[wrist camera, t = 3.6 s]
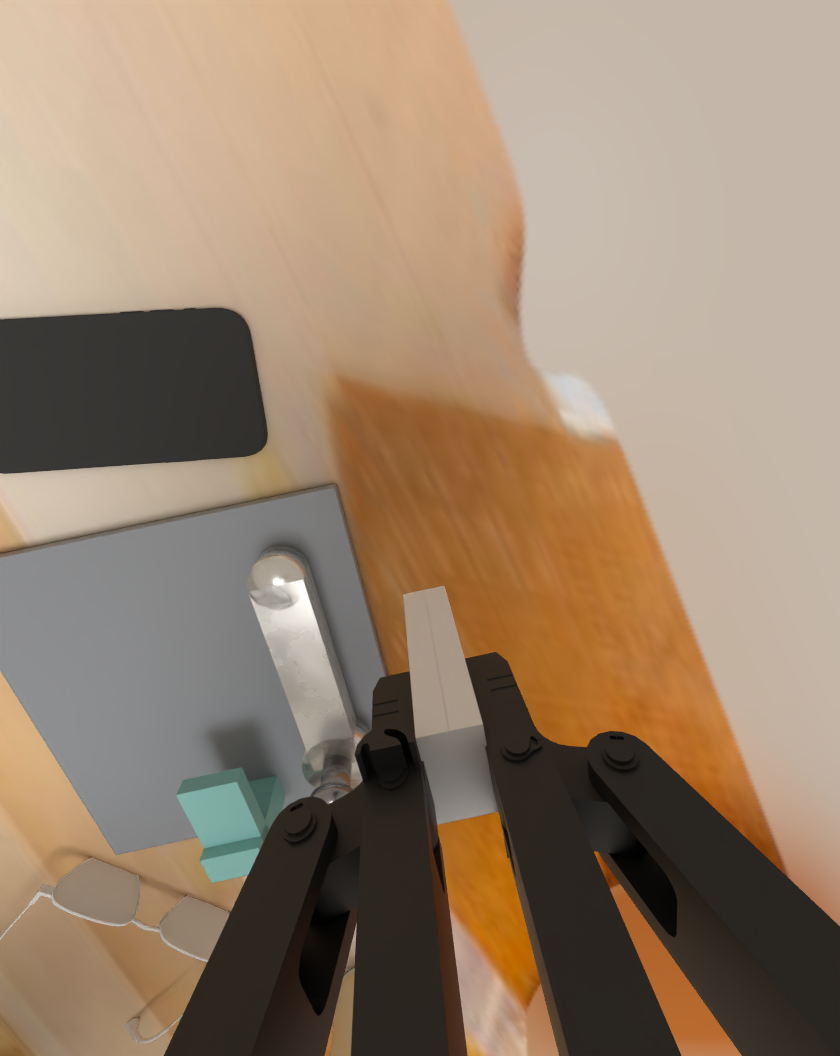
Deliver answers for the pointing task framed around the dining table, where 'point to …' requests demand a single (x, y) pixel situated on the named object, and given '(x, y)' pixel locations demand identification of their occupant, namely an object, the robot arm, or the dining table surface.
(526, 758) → the robot arm
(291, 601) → the link
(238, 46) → the dining table surface
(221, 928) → the eyeglasses
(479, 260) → the dining table surface
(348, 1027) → the coffee cup
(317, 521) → the board
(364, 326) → the dining table surface
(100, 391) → the phone
